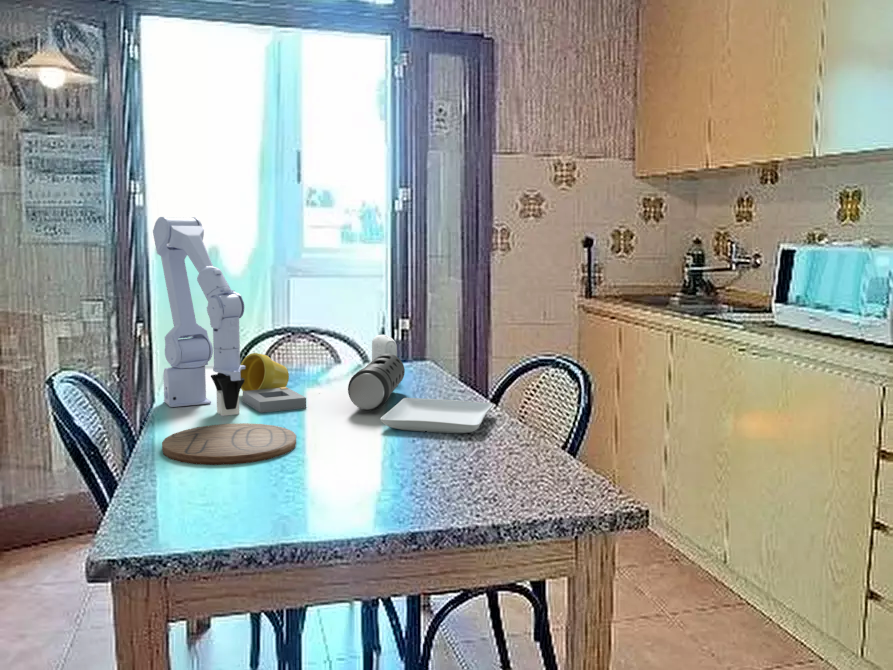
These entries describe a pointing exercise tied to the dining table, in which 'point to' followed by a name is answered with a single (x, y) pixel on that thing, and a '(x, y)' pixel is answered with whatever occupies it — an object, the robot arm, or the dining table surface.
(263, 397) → the socket plate
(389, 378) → the muzzle brake
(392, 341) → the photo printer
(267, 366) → the plant pot
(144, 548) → the dining table surface
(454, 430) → the salad plate
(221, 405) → the plug block
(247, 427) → the trivet
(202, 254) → the robot arm
